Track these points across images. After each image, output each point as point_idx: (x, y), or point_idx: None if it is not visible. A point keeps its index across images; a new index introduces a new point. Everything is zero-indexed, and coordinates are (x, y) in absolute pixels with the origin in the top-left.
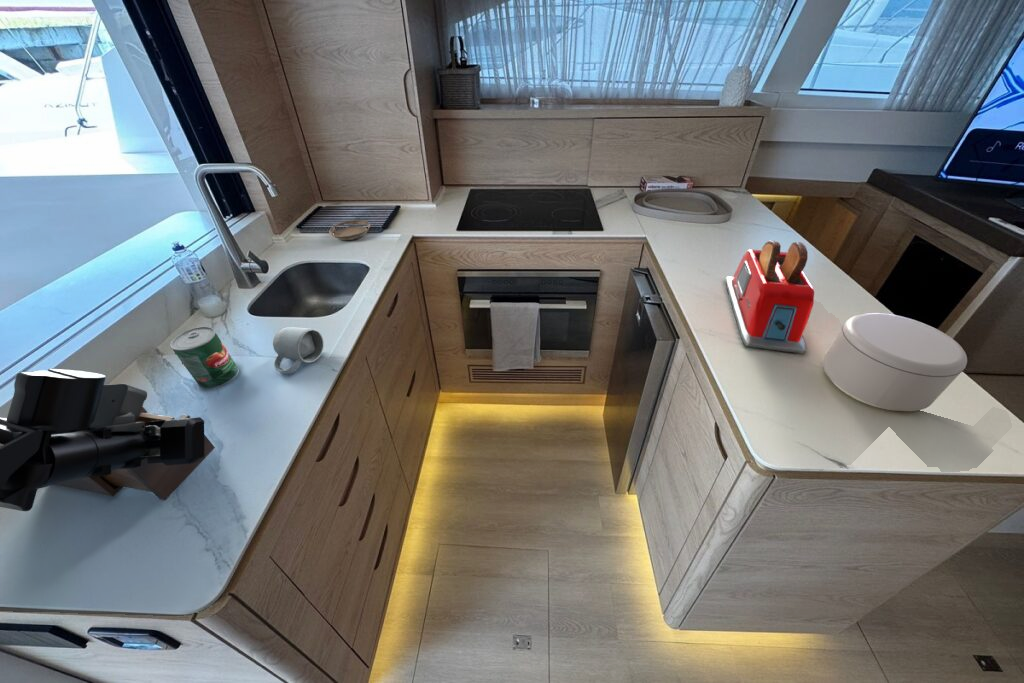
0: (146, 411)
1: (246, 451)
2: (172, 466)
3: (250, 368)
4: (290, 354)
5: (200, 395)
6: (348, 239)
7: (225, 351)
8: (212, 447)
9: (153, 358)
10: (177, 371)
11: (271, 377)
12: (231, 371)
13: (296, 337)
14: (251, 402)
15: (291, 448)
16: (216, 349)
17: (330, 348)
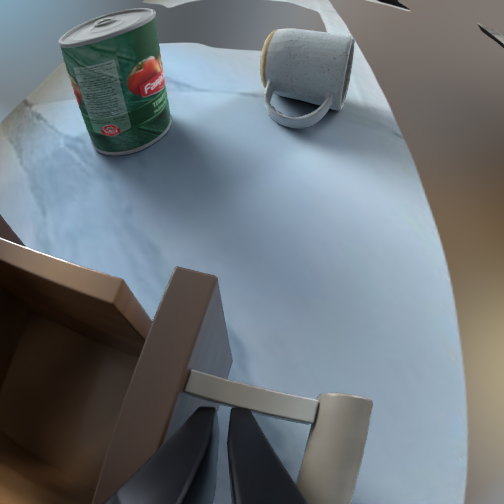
0: (5, 224)
1: (335, 373)
2: None
3: (194, 112)
4: (314, 81)
5: (103, 170)
6: None
7: (161, 62)
8: (230, 364)
9: (19, 112)
10: (52, 126)
11: (260, 132)
12: (165, 113)
13: (337, 44)
14: (247, 193)
15: (456, 358)
16: (153, 49)
17: (350, 91)
